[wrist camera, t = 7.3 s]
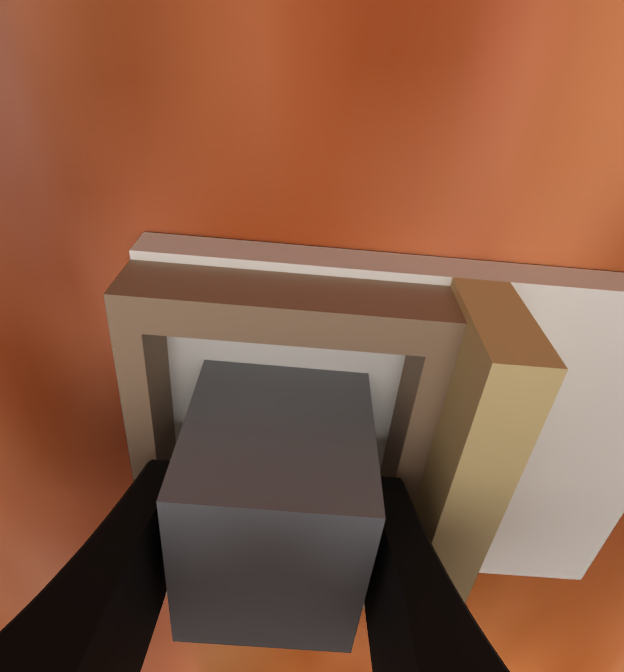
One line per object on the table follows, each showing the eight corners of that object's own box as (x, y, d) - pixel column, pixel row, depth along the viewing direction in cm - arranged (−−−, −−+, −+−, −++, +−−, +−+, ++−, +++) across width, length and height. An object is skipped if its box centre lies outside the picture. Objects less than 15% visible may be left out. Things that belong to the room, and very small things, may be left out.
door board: (725, 280, 11) (890, 395, 8) (568, 551, 17) (628, 686, 14) (144, 232, 11) (65, 329, 8) (174, 523, 17) (135, 654, 13)
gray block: (344, 500, 14) (351, 652, 11) (208, 490, 14) (173, 641, 11) (368, 373, 12) (385, 519, 9) (204, 359, 12) (156, 501, 8)
